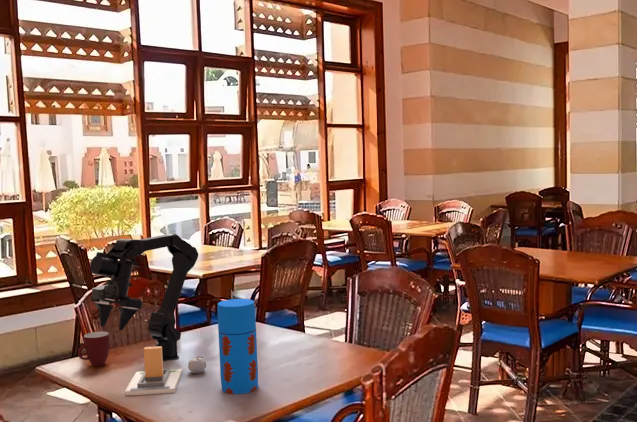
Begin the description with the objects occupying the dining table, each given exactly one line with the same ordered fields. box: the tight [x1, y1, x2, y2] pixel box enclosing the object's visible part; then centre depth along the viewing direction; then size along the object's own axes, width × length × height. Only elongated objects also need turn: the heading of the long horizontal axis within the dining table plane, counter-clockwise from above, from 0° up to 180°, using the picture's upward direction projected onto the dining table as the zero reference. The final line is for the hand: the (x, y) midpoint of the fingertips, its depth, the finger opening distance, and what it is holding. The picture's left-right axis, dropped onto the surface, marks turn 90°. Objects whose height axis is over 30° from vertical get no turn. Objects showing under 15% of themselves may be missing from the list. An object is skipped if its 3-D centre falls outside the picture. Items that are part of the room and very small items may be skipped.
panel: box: [124, 368, 183, 396], centre depth 206 cm, size 18×14×2 cm
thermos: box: [216, 298, 259, 395], centre depth 199 cm, size 11×11×25 cm
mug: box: [77, 331, 111, 367], centre depth 227 cm, size 10×8×10 cm
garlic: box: [187, 355, 207, 374], centre depth 216 cm, size 6×5×5 cm
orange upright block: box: [143, 346, 164, 381], centre depth 205 cm, size 4×5×10 cm
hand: (111, 328), depth 214 cm, fingers open, 9 cm apart
